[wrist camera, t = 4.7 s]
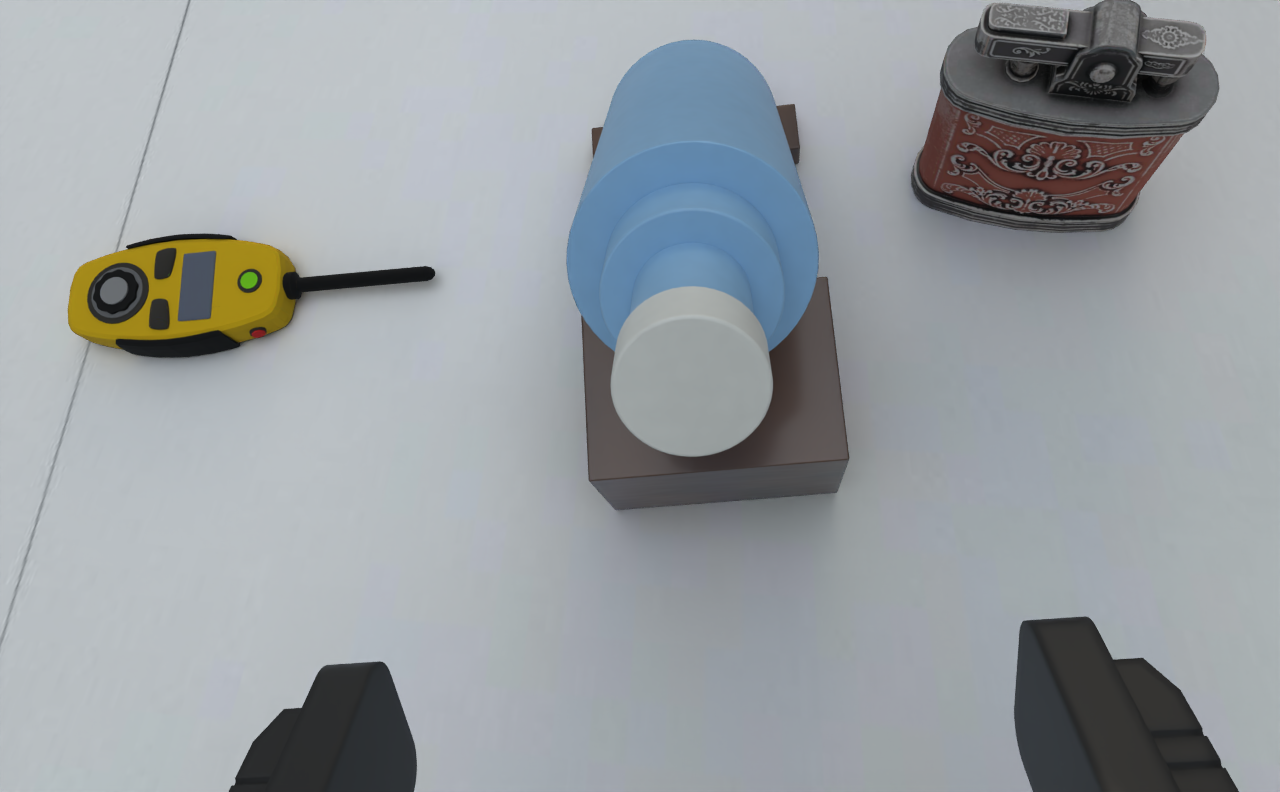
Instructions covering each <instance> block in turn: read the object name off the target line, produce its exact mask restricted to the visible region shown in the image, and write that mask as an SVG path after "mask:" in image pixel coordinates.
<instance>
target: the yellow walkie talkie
mask: <svg viewBox="0 0 1280 792" xmlns="http://www.w3.org/2000/svg"><path fill="white" fill-rule="evenodd" d="M126 248H128V249H127V250H123V251H119V252H116V253H112V254H109V255H106V256H103V257H100V258H98V259H95V260H92V261H90V262H87V263H85V264H84V265H82V266H81V267H79V269H78V270H77V272H76V273H75V275H74V278H73V282H72V285H71V289H70V296H69V304H68V324H69V326H70V328H71V330H72V331H73V332H74V333H75V334H77V335H79V336H81V337H83V338H85V339H87V340H89V341H91V342H93V343H96V344H100V345H104V346H108V347H113V348H118V349H124V350H126V351H128V352H130V353H132V354H135V355H141V356H150V357H190V356H197V355H204V354H210V353H216V352H220V351H224V350H228V349H232V348H235V347H239V346H240V343H239V342H243V341H246V340H250V339H253V338H259V337H263V336H264V335H266V334H269V333H272V332H274V331H276V330H279V329H281V328H283V327H284V326H286V325H288V323H289V321H290V320H291V318H292V315H293V311H294V307H295V301H296V299H299V298H300V297H301V294H302V292H309V291H320V290H331V289H342V288H353V287H364V286H375V285H386V284H397V283H408V282H420V281H428V280H431V279H432V278H433V277H434V276H435V271H434V269H432V268H431V267H427V266H423V267H412V268H401V269H390V270H379V271H368V272H357V273H346V274H336V275H325V276H314V277H303V278H300V277H299V275H298V274H297V273H296V272H295V268H294V266H293V264H292V262H291V261H290V259H289V258H288V257H287V256H286V255H285V254H284V253H282V252H281V251H280V250H278V249H276V248H274V247H272V246H270V245H265V244H261V243H255V242H249V241H241V240H237V239H235V238H234V237H232V236H229V235H220V234H181V235H173V236H166V237H160V238H154V239H149V240H145V241H142V242H138V243H134V244H131V245H127V246H126Z"/></svg>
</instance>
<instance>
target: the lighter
mask: <svg viewBox="0 0 1280 792" xmlns="http://www.w3.org/2000/svg"><path fill="white" fill-rule="evenodd" d="M1205 45H1206V31H1205V30H1204V28H1203V26H1201V25H1199V24H1198V23H1194V22H1190V21H1181V20H1171V19H1161V18H1150V17H1147V15H1146V14H1145V13H1143V12H1142V11H1141V8H1140V6H1139V5H1138V4H1137V3H1135V2H1133V1H1131V0H1104V1H1102V2H1100V3H1098V4H1097V5H1095V6H1094V7H1090V8H1087V9H1084V10H1083V11H1079V10H1070V9H1060V8H1049V7H1039V6H1029V5H1019V4H1009V3H992V4H990V5H987V6H986V8H985V9H984V10H983V13H982V16H981V19H980V23H979V26H978V27H976V28H972V29H967V30H966V31H964V32H963V33H961V34H959V35H958V36H956V37H955V39H954V40H953V41H952V42H951V44H950V45H949V46H948V48H947V51H946V54H945V57H944V60H943V64H942V67H941V71H940V85H941V91H940V94H939V97H938V101H937V104H936V108H935V111H934V115H933V118H932V121H931V125H930V128H929V132H928V135H927V139H926V142H925V145H924V146H923V147H922V149H921V150H920V151H919V152H918V154H917V157H916V160H915V163H914V167H913V170H912V174H911V186H912V188H913V191H914V194H915V196H916V197H917V198H918V199H919V200H920V201H921V203H923V204H925V205H926V206H928V207H930V208H933V209H936V210H939V211H942V212H945V213H949V214H952V215H955V216H958V217H961V218H965V219H968V220H971V221H976V222H981V223H986V224H991V225H996V226H1001V227H1006V228H1011V229H1019V230H1033V231H1046V232H1091V231H1105V230H1110V229H1113V228H1115V227H1117V226H1118V225H1120V224H1121V223H1122V222H1123V221H1124V220H1125V219H1126V217H1127V216H1128V215H1129V213H1130V212H1131V211H1132V209H1133V208H1134V207H1135V205H1136V204H1137V202H1138V198H1139V195H1140V191H1141V189H1142V188H1143V187H1144V185H1145V184H1146V183H1147V181H1148V180H1149V179H1150V177H1151V176H1152V175H1153V174H1154V172H1155V171H1156V170H1157V168H1158V167H1159V166H1160V164H1161V163H1162V162H1163V160H1164V159H1165V158H1166V156H1167V155H1168V154H1169V153H1170V151H1171V150H1172V149H1173V147H1174V146H1175V145H1176V143H1177V142H1178V141H1179V139H1180V138H1181V137H1182V135H1183V134H1184V133H1187V132H1188V131H1190V130H1192V129H1193V128H1195V127H1196V126H1198V124H1199V123H1200V122H1201V121H1202V119H1203V118H1204V117H1205V115H1206V114H1207V113H1208V111H1209V110H1210V109H1211V107H1212V106H1213V105H1214V103H1215V102H1216V99H1217V96H1218V92H1219V81H1218V74H1217V72H1216V71H1215V69H1214V67H1213V65H1212V63H1211V62H1210V61H1209V60H1208V59H1207V58H1206V57H1205V56H1204V55H1203V54H1202V53H1203V52H1204V49H1205Z"/></svg>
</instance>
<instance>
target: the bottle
mask: <svg viewBox="0 0 1280 792" xmlns="http://www.w3.org/2000/svg"><path fill="white" fill-rule="evenodd" d="M818 260H819V251H818V242H817V235H816V232H815V228H814V224H813V220H812V217H811V214H810V211H809V208H808V205H807V202H806V198H805V195H804V192H803V189H802V186H801V183H800V180H799V176H798V173H797V170H796V167H795V164H794V161H793V158H792V154H791V151H790V148H789V145H788V142H787V139H786V136H785V132H784V129H783V126H782V123H781V120H780V117H779V114H778V110H777V107H776V104H775V101H774V98H773V95H772V93H771V90H770V88H769V86H768V84H767V82H766V81H765V79H764V77H763V76H762V74H761V73H760V72H759V71H758V69H757V68H756V67H755V66H754V65H753V64H752V63H751V62H750V61H749V60H748V59H747V58H745V57H744V56H742V55H741V54H740V53H738V52H736V51H735V50H733V49H731V48H729V47H727V46H724V45H721V44H718V43H715V42H710V41H704V40H683V41H678V42H673V43H669V44H666V45H663V46H661V47H659V48H657V49H655V50H653V51H651V52H649V53H648V54H646V55H645V56H643V57H642V58H640V59H639V60H638V61H637V62H636V63H635V64H634V65H633V66H632V67H631V68H630V69H629V70H628V71H627V73H626V74H625V75H624V77H623V78H622V80H621V81H620V83H619V84H618V86H617V89H616V91H615V93H614V95H613V98H612V101H611V104H610V108H609V111H608V114H607V117H606V120H605V123H604V126H603V130H602V133H601V136H600V139H599V142H598V145H597V148H596V152H595V155H594V158H593V161H592V164H591V167H590V170H589V174H588V177H587V180H586V183H585V186H584V189H583V192H582V196H581V199H580V202H579V205H578V208H577V211H576V215H575V218H574V221H573V224H572V227H571V230H570V234H569V240H568V246H567V272H568V280H569V284H570V288H571V292H572V295H573V297H574V300H575V302H576V305H577V307H578V309H579V311H580V313H581V315H582V316H583V318H584V320H585V321H586V323H587V324H588V325H589V327H590V328H591V329H592V331H593V332H594V333H595V334H596V335H597V336H598V337H599V338H600V339H601V340H602V341H603V343H604V344H606V345H607V346H608V347H609V348H611V349H612V350H613V351H614V352H615V355H614V361H613V367H612V374H611V396H612V400H613V404H614V407H615V409H616V412H617V414H618V415H619V417H620V419H621V421H622V422H623V423H624V425H625V426H626V427H627V429H628V430H629V431H630V432H631V433H632V434H633V435H634V436H635V437H637V438H638V439H639V440H641V441H642V442H643V443H645V444H647V445H648V446H650V447H652V448H654V449H657V450H659V451H662V452H665V453H668V454H672V455H677V456H686V457H698V456H706V455H712V454H716V453H719V452H722V451H725V450H727V449H729V448H731V447H733V446H735V445H737V444H739V443H740V442H741V441H743V440H744V439H746V438H747V437H748V436H749V435H750V434H751V433H752V432H753V431H754V430H755V429H756V428H757V427H758V426H759V424H760V423H761V421H762V420H763V418H764V417H765V415H766V413H767V411H768V408H769V406H770V402H771V399H772V392H773V377H772V371H771V364H770V357H769V351H771V350H772V349H773V348H775V347H776V346H777V345H778V344H779V343H780V342H781V341H782V340H784V339H785V338H786V337H787V336H788V334H789V333H790V332H791V331H792V330H793V328H794V327H795V326H796V325H797V323H798V322H799V320H800V318H801V317H802V315H803V314H804V312H805V310H806V308H807V306H808V304H809V302H810V299H811V297H812V294H813V291H814V287H815V284H816V279H817V273H818Z"/></svg>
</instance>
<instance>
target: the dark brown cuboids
mask: <svg viewBox="0 0 1280 792" xmlns="http://www.w3.org/2000/svg"><path fill="white" fill-rule="evenodd" d="M776 107H777V110H778V114H779V117H780V120H781V123H782V126H783V129H784V132H785V136H786V139H787V142H788V145H789V148H790V151H791V154H792V158H793V161H794V163H799V153H800V145H799V136H798V128H797V119H796V111H795V105H794V104H790V105H781V106H776ZM602 130H603V127H599V128H593V129H592V146H593V158H594V155H595V152H596V148H597V145H598V142H599V139H600V136H601V133H602ZM581 317H582V340H583V362H584V385H585V407H586V430H587V452H588V475H589V481H590V482H591V484H592V485H593V486H594V487H595V488H596V489H597V490H598V491H599V492H600V493H601V494H602V496H603V497H604V498H605V499H606V500H607V501H608V502H609V503H610V504H611V505H612V506H613V508H614V509H615V510H625V509H637V508H650V507H662V506H675V505H687V504H700V503H712V502H725V501H738V500H750V499H763V498H775V497H788V496H800V495H813V494H825V493H836V492H837V491H838V488H839V485H840V483H841V480H842V477H843V474H844V472H845V469H846V466H847V463H848V461H849V452H848V444H847V435H846V427H845V419H844V411H843V402H842V394H841V386H840V378H839V369H838V361H837V353H836V344H835V336H834V328H833V320H832V311H831V303H830V295H829V286H828V278H827V277H819V278H817V279H816V284H815V287H814V291H813V294H812V297H811V299H810V302H809V304H808V306H807V308H806V310H805V312H804V314H803V315H802V317H801V318H800V320H799V322H798V323H797V325H796V326H795V327H794V328H793V330H792V331H791V332H790V333H789V334H788V336H787V337H786V338H785V339H784V340H782V341H781V342H780V343H779V344H778V345H777V346H776V347H775V348H773V349H772V350H771V351H769V357H770V364H771V371H772V377H773V392H772V399H771V402H770V406H769V408H768V411H767V413H766V415H765V417H764V418H763V420H762V421H761V423H760V424H759V426H758V427H757V428H756V429H755V430H754V431H753V432H752V433H751V434H750V435H749V436H748V437H747V438H746V439H744V440H743V441H741V442H740V443H739V444H737V445H735V446H733V447H731V448H729V449H727V450H725V451H722V452H719V453H716V454H712V455H706V456H698V457H686V456H677V455H672V454H668V453H665V452H662V451H659V450H657V449H654V448H652V447H650V446H648V445H647V444H645V443H643V442H642V441H641V440H639V439H638V438H637V437H635V436H634V435H633V434H632V433H631V432H630V431H629V430H628V429H627V427H626V426H625V425H624V423H623V422H622V421H621V419H620V417H619V415H618V414H617V412H616V409H615V407H614V404H613V400H612V396H611V374H612V367H613V361H614V355H615V352H614V351H613V350H612V349H611V348H609V347H608V346H607V345H606V344H604V343H603V341H602V340H601V339H600V338H599V337H598V336H597V335H596V334H595V333H594V332H593V331H592V329H591V328H590V327H589V325H588V324H587V323H586V321H585V320H584V318H583V316H582V315H581Z"/></svg>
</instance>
